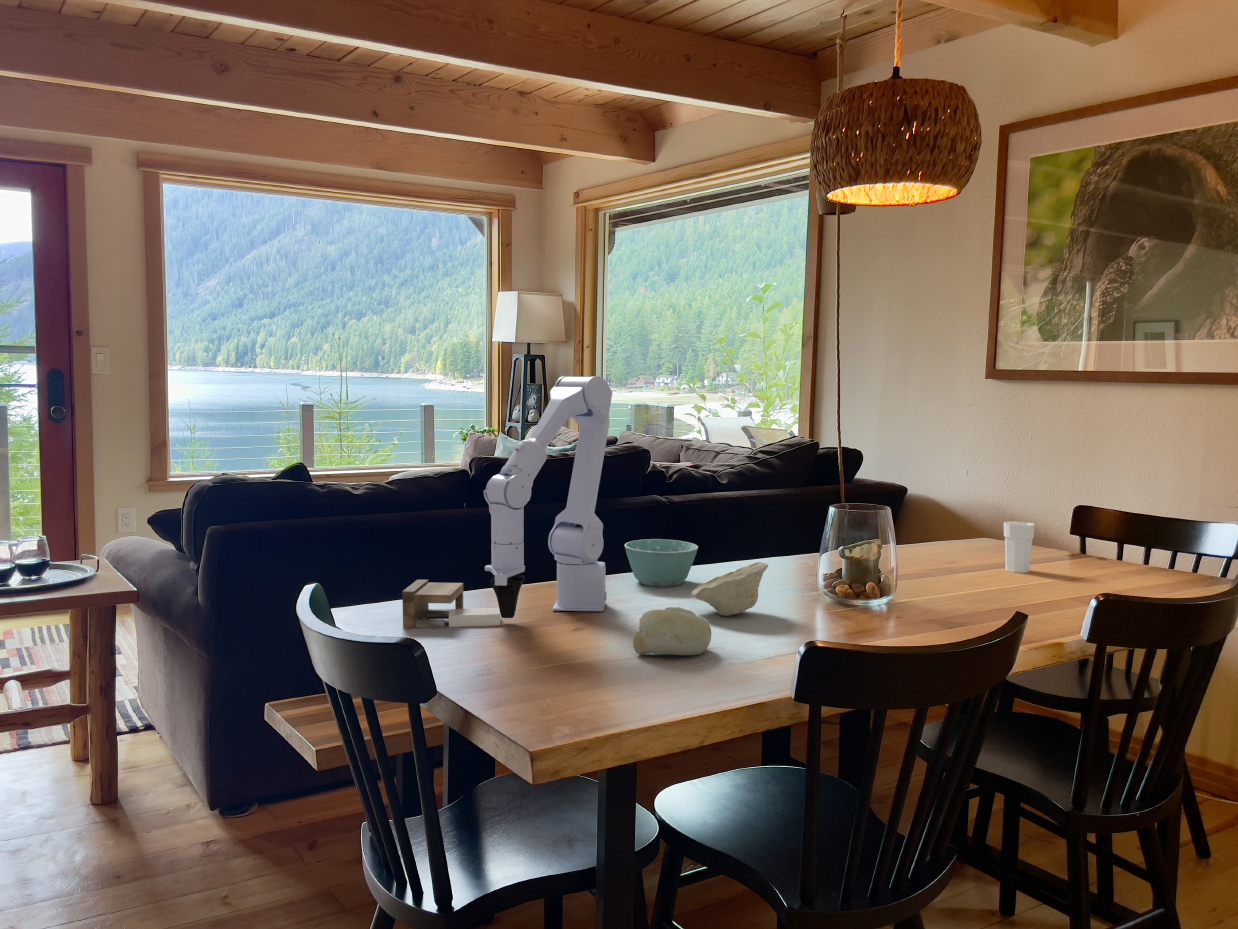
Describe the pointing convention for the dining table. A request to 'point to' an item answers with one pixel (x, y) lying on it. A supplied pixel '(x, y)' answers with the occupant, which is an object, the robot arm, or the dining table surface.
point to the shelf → (426, 593)
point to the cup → (1018, 545)
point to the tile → (474, 617)
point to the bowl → (660, 561)
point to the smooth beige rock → (672, 632)
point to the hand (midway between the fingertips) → (507, 617)
